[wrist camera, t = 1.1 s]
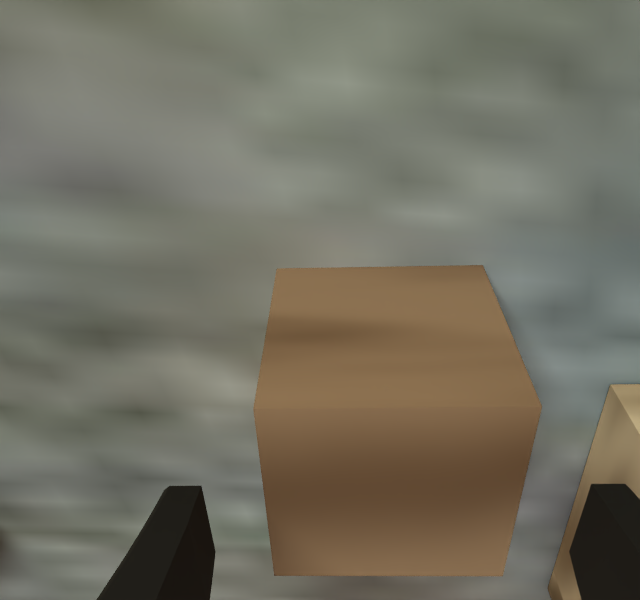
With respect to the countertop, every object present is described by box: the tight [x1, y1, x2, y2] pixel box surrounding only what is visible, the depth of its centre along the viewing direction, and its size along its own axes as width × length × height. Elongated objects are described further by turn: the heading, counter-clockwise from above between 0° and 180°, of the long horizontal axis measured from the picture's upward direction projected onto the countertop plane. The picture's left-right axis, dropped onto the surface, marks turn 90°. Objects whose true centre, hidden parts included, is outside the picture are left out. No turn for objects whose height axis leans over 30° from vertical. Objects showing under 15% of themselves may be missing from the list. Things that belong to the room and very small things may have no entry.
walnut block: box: [254, 265, 542, 576], centre depth 14 cm, size 5×5×5 cm
